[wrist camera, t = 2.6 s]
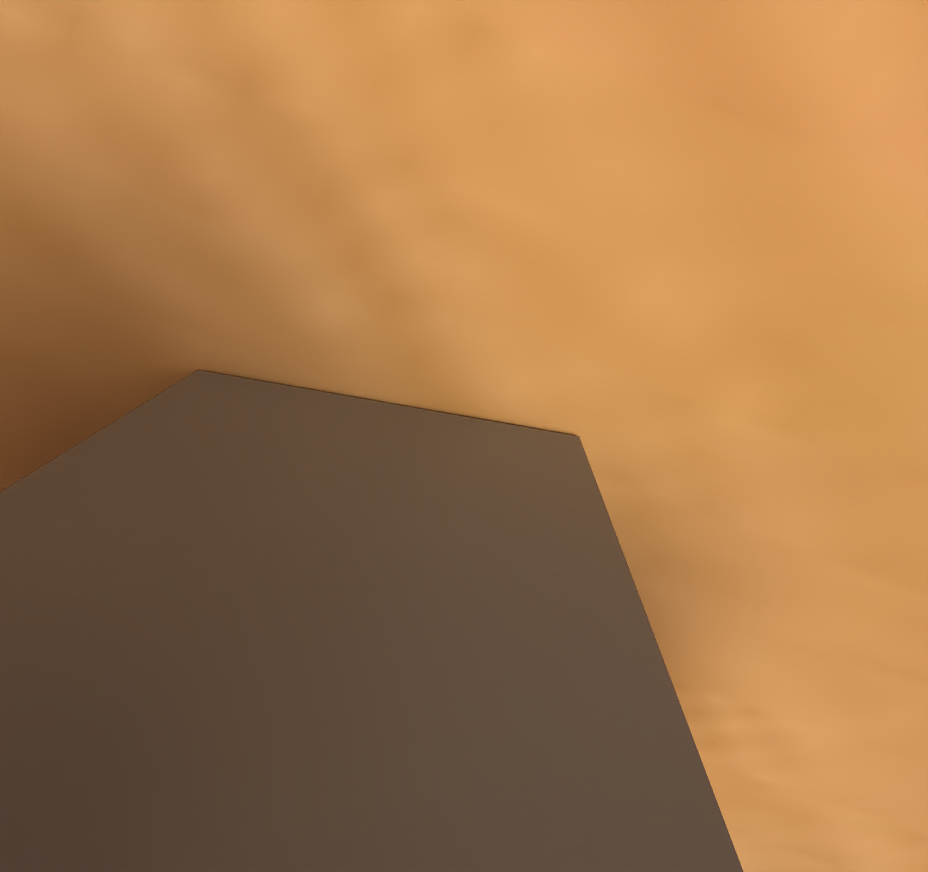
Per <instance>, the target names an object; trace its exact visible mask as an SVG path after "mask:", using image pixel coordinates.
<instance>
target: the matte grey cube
mask: <svg viewBox="0 0 928 872" xmlns="http://www.w3.org/2000/svg"><path fill="white" fill-rule="evenodd" d="M0 872H743V869H742V867H741V864H740V861H739V859H738V856H737V854H736V851H735V848H734V846H733V843H732V840H731V838H730V835H729V832H728V830H727V827H726V824H725V822H724V819H723V816H722V814H721V811H720V809H719V806H718V803H717V801H716V798H715V795H714V793H713V790H712V787H711V785H710V782H709V779H708V777H707V774H706V771H705V769H704V766H703V763H702V761H701V758H700V756H699V753H698V750H697V748H696V745H695V742H694V740H693V737H692V734H691V732H690V729H689V726H688V724H687V721H686V718H685V716H684V713H683V711H682V708H681V705H680V703H679V700H678V697H677V695H676V692H675V689H674V687H673V684H672V681H671V679H670V676H669V673H668V671H667V668H666V666H665V663H664V660H663V658H662V655H661V652H660V650H659V647H658V644H657V642H656V639H655V636H654V634H653V631H652V628H651V626H650V623H649V620H648V618H647V615H646V613H645V610H644V607H643V605H642V602H641V599H640V597H639V594H638V591H637V589H636V586H635V583H634V581H633V578H632V575H631V573H630V570H629V568H628V565H627V562H626V560H625V557H624V554H623V552H622V549H621V546H620V544H619V541H618V538H617V536H616V533H615V530H614V528H613V525H612V523H611V520H610V517H609V515H608V512H607V509H606V507H605V504H604V501H603V499H602V496H601V493H600V491H599V488H598V485H597V483H596V480H595V477H594V475H593V472H592V470H591V467H590V464H589V462H588V459H587V456H586V454H585V451H584V448H583V446H582V443H581V440H580V438H579V436H574V435H568V434H562V433H556V432H551V431H545V430H539V429H533V428H528V427H522V426H516V425H511V424H505V423H499V422H493V421H488V420H482V419H476V418H470V417H465V416H459V415H453V414H447V413H442V412H436V411H430V410H425V409H419V408H413V407H407V406H402V405H396V404H390V403H384V402H379V401H373V400H367V399H362V398H356V397H350V396H344V395H339V394H333V393H327V392H321V391H316V390H310V389H304V388H299V387H293V386H287V385H281V384H276V383H270V382H264V381H258V380H253V379H247V378H241V377H236V376H230V375H224V374H218V373H213V372H207V371H201V370H197V371H195V372H194V373H192V374H191V375H189V376H187V377H186V378H184V379H182V380H181V381H179V382H178V383H176V384H174V385H173V386H171V387H169V388H168V389H166V390H165V391H163V392H161V393H160V394H158V395H157V396H155V397H153V398H152V399H150V400H148V401H147V402H145V403H144V404H142V405H140V406H139V407H137V408H135V409H134V410H132V411H131V412H129V413H127V414H126V415H124V416H123V417H121V418H119V419H118V420H116V421H114V422H113V423H111V424H110V425H108V426H106V427H105V428H103V429H101V430H100V431H98V432H97V433H95V434H93V435H92V436H90V437H89V438H87V439H85V440H84V441H82V442H80V443H79V444H77V445H76V446H74V447H72V448H71V449H69V450H67V451H66V452H64V453H63V454H61V455H59V456H58V457H56V458H54V459H53V460H51V461H50V462H48V463H46V464H45V465H43V466H42V467H40V468H38V469H37V470H35V471H33V472H32V473H30V474H29V475H27V476H25V477H24V478H22V479H20V480H19V481H17V482H16V483H14V484H12V485H11V486H9V487H8V488H6V489H4V490H3V491H1V492H0Z"/></svg>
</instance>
